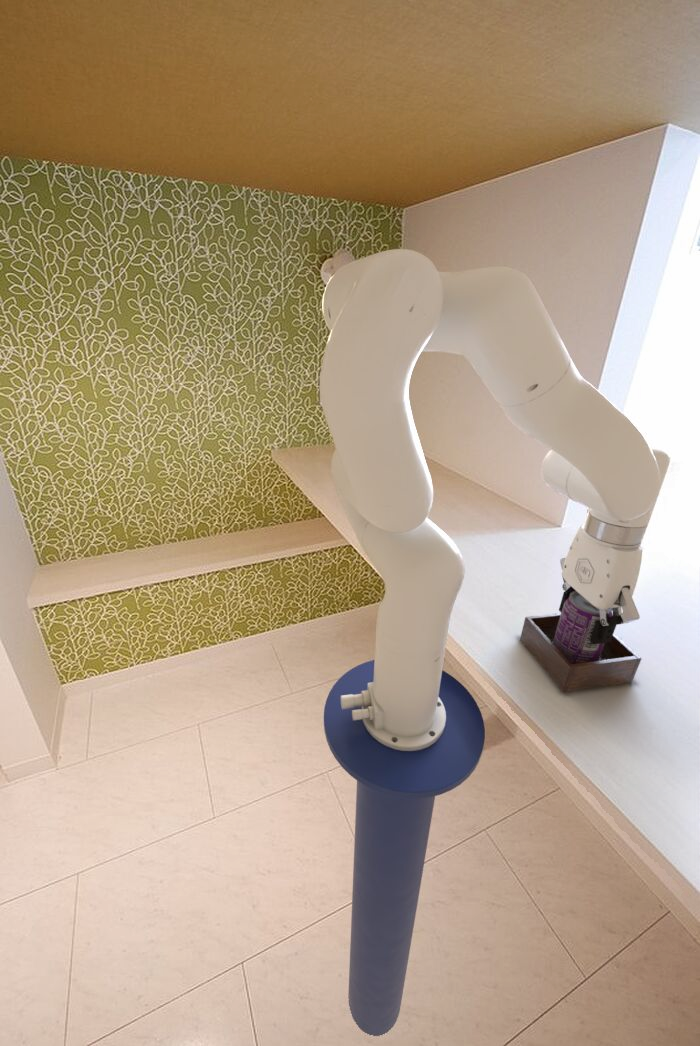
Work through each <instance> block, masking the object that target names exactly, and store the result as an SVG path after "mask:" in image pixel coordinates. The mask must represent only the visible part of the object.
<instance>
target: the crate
mask: <svg viewBox="0 0 700 1046" xmlns="http://www.w3.org/2000/svg"><path fill="white" fill-rule="evenodd" d="M560 615H561V612H558V613H549V614H548V613H547V614H539V615H528V616H525V617H524V621H523V625H522V630H521V634H520V638H519V639H520V641H521V642H522V644H523V645H524V646H525V647H526V648H527V650H528V652H530V653H531V655H532V656H533V658H534V659H535V660H536V661H537V662H538V663H539V665H540V666H541V667H542V669H543V670H544V671H545V672H546V673H547V675H548V677H549V678H550V679H551V680H552V681H553V682H554V684H555V685H556V686H557V687H558V688H559V690H560V691H561V692H562V693H568V692H574V691H580V690H581V691H582V690H589V689H595V688H602V687H609V686H615V685H623V684H628V683H633V681H634V679H635V676H636V674H637V671H638V670H639V669H638V668H639V666H640V664H641V661H642V657H641V656H640V655H638V653H637V652H635V651H634V650H633V649H632V648H631V647H630V646H629V645H628V644H626V642H624V641H623V640H622V639H621V638H620V637H619V636H618V635H616V634H615V632H614V633H613V636H612V639H611V641H610V642H608V643H604V646H603V649H602V652H601V655H600V657H602V658H603V659H601V660H600V659H599V661H593V662H585V663H578V664H572V665H571V663H570V662H569V661H568V660H567V659H566V658H565V657H564V656H563V654H562V653H561V652H560V651H559V650H558V649H557V648H556V647H555V645H554V644H553V641H551V639H554V636H555V633H556V629H557V626H558V622H559V619H560Z"/></svg>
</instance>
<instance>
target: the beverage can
mask: <svg viewBox="0 0 700 1046" xmlns="http://www.w3.org/2000/svg"><path fill="white" fill-rule="evenodd" d="M560 613H561V615H560V619H559V622H558V626H557V629H556V633H555V636H554V638H553V641H552V643H553V644H554V645H555V647H556V648H557V649H558V650H559V651H560V652H561V653H562V654H563V656H564V657H565V658H566V659H567V660H568V661H569V662H570V663H571V665H572V664H578V663H585V662H593V661H600V659H601V652H602V649H603V646H604V643H601V644H592V643H591V642H590V639H591V636H592V633H593V629H594V626H595V623H596V622H597V621H600V612H599V609H598V608H596V607H595V606H593V605H592V604H591V603H590V602H589V601H587V600H586V599H585V598H584V597H583V596H582V595H581V594H579V593H578V592H577V591H573V592H571V593H570V596H569V598H568V599H567V600H566V601H565V602H564V605H563V608H562V612H560ZM608 613H609V617H611V616H613V612H612V608H609V609H608Z"/></svg>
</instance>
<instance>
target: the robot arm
mask: <svg viewBox="0 0 700 1046" xmlns="http://www.w3.org/2000/svg"><path fill="white" fill-rule="evenodd" d="M321 304H322V305H321V307H322V313H323V314H322V315H323V319H324V322H325V325H326V326H327V329H328V330H329V332H330V333H329V336H328V339H327V342H326V345H325V349H324V353H323V357H322V362H321V368H320V373H319V374H320V375H319V395H320V402H321V409H322V411H323V415H324V418H325V422H326V425H327V427H328V429H329V433H330V435H331V438H332V441H333V445H334V447H335V449H334V451H333V454H332V458H331V461H330V462H331V463H330V473H331V479H332V483H333V486H334V488H335V491H336V493H337V496H338V498H339V500H340V503H341V505H342V507H343V509H344V512H345V514H346V516H347V519H348V521H349V523H350V525H351V527H352V530H353V532H354V534H355V537H356V539H357V540H358V543H359V545H360V548H362V550H363V551H364V553H365V554H366V556H367V557H368V559H369V561H371V563H372V565H374V568H375V569H376V571H377V572H378V573H379V575H380V576H381V578H382V580H383V584H384V596H383V597H382V599H381V601H380V603H379V605H378V609H377V614H376V621H375V622H376V623H375V643H374V645H375V646H374V660H375V662H374V679H373V682H370V683H368V687H367V690H365V691H361V694H356V695H353V694H350V695H342V696H341V707H342V709H349V708H354V707H359V706H362V710H361V709H358V710H352V718H353V721H354V720H361V719H363V723H364V725H365V727H366V729H367V730H368V732H369V733H370V734H371V735H372V736H373V737H374V738H375V739H376V740H377V741H378V742H380V743H382V744H383V745H385V746H387V747H390V748H393V749H396V750H401V751H416V750H421V749H424V748H427V747H429V746H430V745H432V744H434V743H435V742H436V741H437V740H438V739H439V738H440V736H441V735H442V733H443V731H444V728H445V722H446V711H445V708H444V705H443V703H442V701H441V699H440V698H439V697H438V696H439V689H440V682H441V675H442V670H443V668H444V661H445V654H446V647H447V640H448V632H449V626H450V622H451V621H450V620H451V616H452V611H453V608H454V605H455V602H456V600H457V597H458V595H459V592H460V590H461V588H462V586H463V583H464V579H465V573H466V568H465V561H464V558H463V554H462V553H461V551H460V549H459V548H458V546H457V545H456V543H455V542H454V541H453V539H452V538H450V536H449V535H447V533H446V532H444V530H442V529H441V528H440V527H439V526H437V524H435V522H433V521H432V520H431V519H429V518H428V517H429V515H430V512H431V510H432V506H433V503H434V487H433V481H432V477H431V474H430V471H429V468H428V465H427V462H426V458H425V455H424V452H423V448H422V445H421V442H420V441H421V440H420V438H419V435H418V432H417V428H416V425H415V421H414V418H413V417H414V416H413V413H412V409H411V402H410V398H409V397H410V395H409V388H410V381H411V376H412V372H413V370H414V367H415V365H416V362H417V361H418V359H419V356H420V355H421V353H422V352H431V353H432V352H435V353H449V354H455V355H459V356H460V355H461V356H463V357H464V358H465V359H466V360H467V361H468V362H469V364H470V365H471V367H472V368H473V370H474V371H475V373H476V374H477V375H478V377H479V378H480V380H481V381H482V382H483V385H485V387H486V388H487V390H488V391H489V394H491V396H492V397H493V399H494V400H495V402H496V404H497V405H498V406H499V408H500V409H501V411H502V413H503V414H504V416H505V417H506V418H507V420H508V421H509V422H510V423H511V424H512V425H514V426H515V427H516V428H517V429H519V430H520V431H521V432H523V433H524V434H525V435H526V436H527V437H529V438H531V439H532V440H534V441H536V442H537V443H539V444H541V445H543V446H544V447H546V448H548V449H550V450H549V451H548V452H547V453H546V455H545V456H544V458H543V460H542V461H541V467H540V474H541V478H542V480H543V482H544V483H545V485H546V486H547V487H549V488H550V489H551V490H552V491H554V492H556V494H559V495H561V496H563V497H565V498H567V499H569V500H570V501H573V502H575V503H578V504H580V505H582V506H584V507H586V508H587V510H586V518H585V522H584V524H581V525H580V527H579V528H578V530H577V532H576V533H575V535H574V537H573V539H572V542H571V543H570V545H569V549H568V551H567V554H566V557H563V558H560V560H559V563H560V568H561V578H562V580H563V584H561V585H562V590H563V594H562V597H561V601H560V605H559V607H558V611H559V613H561V612H562V608H563V605H564V602H565V601H566V600H567V599H568V598H569V596H570V593H571V592H573V591H577V592H578V593H579V594H581V595H582V596H583V597H584V598H585V599H586V600H587V601H589V602H590V603H591V604H592V605H593V606H595V607H596V608H598V609H599V612H600V621H597V622H596V623H595V626H594V629H593V633H592V636H591V639H590V642H591V643H592V644H601V643H608V642H610V641H611V639H612V636H613V633H614V634H615V630H616V628H617V625H623V624H629V623H632V622H635V621H638V620H640V618H641V616H640V613H639V611H638V608H637V606H636V604H635V601H634V599H633V595H634V593H635V590H636V586H637V583H638V579H639V575H640V571H641V565H642V559H643V558H642V557H643V548H644V547H643V546H642V543H643V540H644V537H645V534H646V531H647V529H648V526H649V523H650V520H651V517H652V515H653V512H654V509H655V506H656V503H657V501H658V497H659V496H660V492H661V490H662V486H663V483H664V480H665V478H666V475H667V472H668V469H669V466H670V463H671V454H670V452H669V450H667V449H666V447H663V446H660V445H658V444H655V443H651V442H648V439H647V438H646V437H645V435H644V434H643V432H642V431H641V430H640V429H639V428H638V426H637V425H636V424H635V423H634V422H633V421H632V419H630V418H629V417H628V416H627V415H626V414H625V413H624V412H622V411H621V410H620V409H619V408H618V407H617V406H616V405H615V404H614V403H613V402H611V401H610V400H609V399H608V398H607V397H606V396H605V395H604V394H603V393H602V392H600V391H599V390H598V389H597V388H596V387H594V385H592V384H591V383H590V382H589V381H587V380H586V379H585V378H584V377H583V376H582V375H581V374H580V372H579V371H578V368H577V367H576V365H575V363H574V361H573V359H572V358H571V355H570V352H568V350H567V347H566V346H565V343H564V341H563V340H562V337H561V336H560V333H559V332H558V330H557V328H556V325H555V324H554V322H553V320H552V318H551V317H550V314H549V313H548V310H547V308H546V307H545V305H544V303H543V301H542V298H541V297H540V295H539V293H538V291H537V289H536V288H535V286H534V284H533V283H532V281H531V280H530V278H529V277H528V276H527V275H526V274H525V273H523V272H522V271H521V270H519V269H517V268H514V267H511V266H505V265H496V266H494V265H493V266H484V267H478V268H471V269H465V270H458V271H439V270H438V269H437V267H436V266H435V264H434V262H433V261H432V260H431V259H429V257H428V256H426V255H425V254H423V253H421V252H419V251H416V250H413V249H407V248H395V249H394V248H393V249H387V250H382V251H379V252H376V253H373V254H370V255H367V256H366V257H363V258H359V259H356V260H354V261H350V262H348V263H346V264H344V265H342V266H341V267H340V268H339V269H337V270H336V271H335V272H334V273H333V275H332V276H331V277H330V278H329V280H328V281H327V284H326V286H325V288H324V291H323V294H322V303H321ZM609 608H612V614H613V616H611V617H609V613H608V609H609Z"/></svg>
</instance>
